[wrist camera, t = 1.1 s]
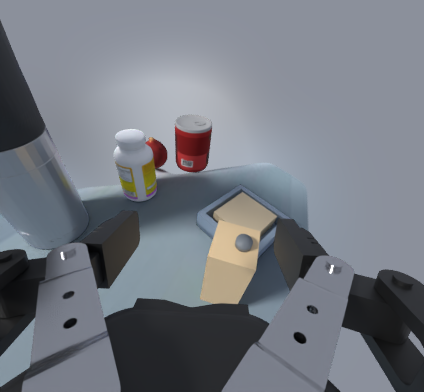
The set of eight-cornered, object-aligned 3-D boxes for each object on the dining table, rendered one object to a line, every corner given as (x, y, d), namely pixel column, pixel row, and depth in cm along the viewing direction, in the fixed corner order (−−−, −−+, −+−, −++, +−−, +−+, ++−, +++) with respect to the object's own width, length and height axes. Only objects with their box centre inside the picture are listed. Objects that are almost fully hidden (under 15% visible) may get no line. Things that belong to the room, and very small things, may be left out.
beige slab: (212, 222, 38) (213, 211, 36) (239, 202, 43) (242, 191, 41) (246, 251, 35) (250, 241, 33) (271, 226, 39) (277, 216, 37)
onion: (160, 158, 53) (158, 128, 47) (172, 170, 50) (171, 140, 44) (138, 164, 50) (133, 134, 44) (149, 178, 47) (145, 147, 41)
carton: (200, 299, 30) (208, 252, 21) (209, 267, 33) (220, 215, 24) (234, 310, 29) (258, 266, 20) (240, 276, 32) (262, 227, 24)
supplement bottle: (155, 179, 47) (149, 125, 38) (159, 200, 42) (153, 144, 33) (123, 183, 45) (109, 126, 36) (123, 205, 40) (107, 147, 31)
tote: (196, 224, 39) (197, 212, 36) (237, 196, 45) (240, 184, 43) (246, 270, 33) (251, 259, 31) (284, 230, 40) (291, 218, 38)
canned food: (212, 169, 51) (218, 127, 44) (182, 176, 48) (182, 132, 41) (200, 153, 56) (203, 112, 48) (171, 158, 53) (170, 116, 45)
